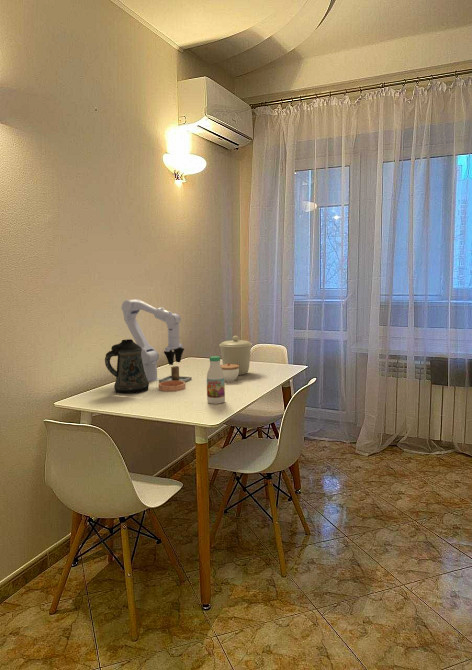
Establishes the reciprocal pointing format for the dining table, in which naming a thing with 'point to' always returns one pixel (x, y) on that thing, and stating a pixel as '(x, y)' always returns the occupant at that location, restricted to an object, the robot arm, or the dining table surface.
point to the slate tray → (169, 378)
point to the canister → (236, 353)
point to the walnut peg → (175, 373)
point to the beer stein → (128, 368)
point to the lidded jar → (230, 372)
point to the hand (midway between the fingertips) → (174, 363)
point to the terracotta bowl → (171, 385)
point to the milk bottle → (215, 382)
